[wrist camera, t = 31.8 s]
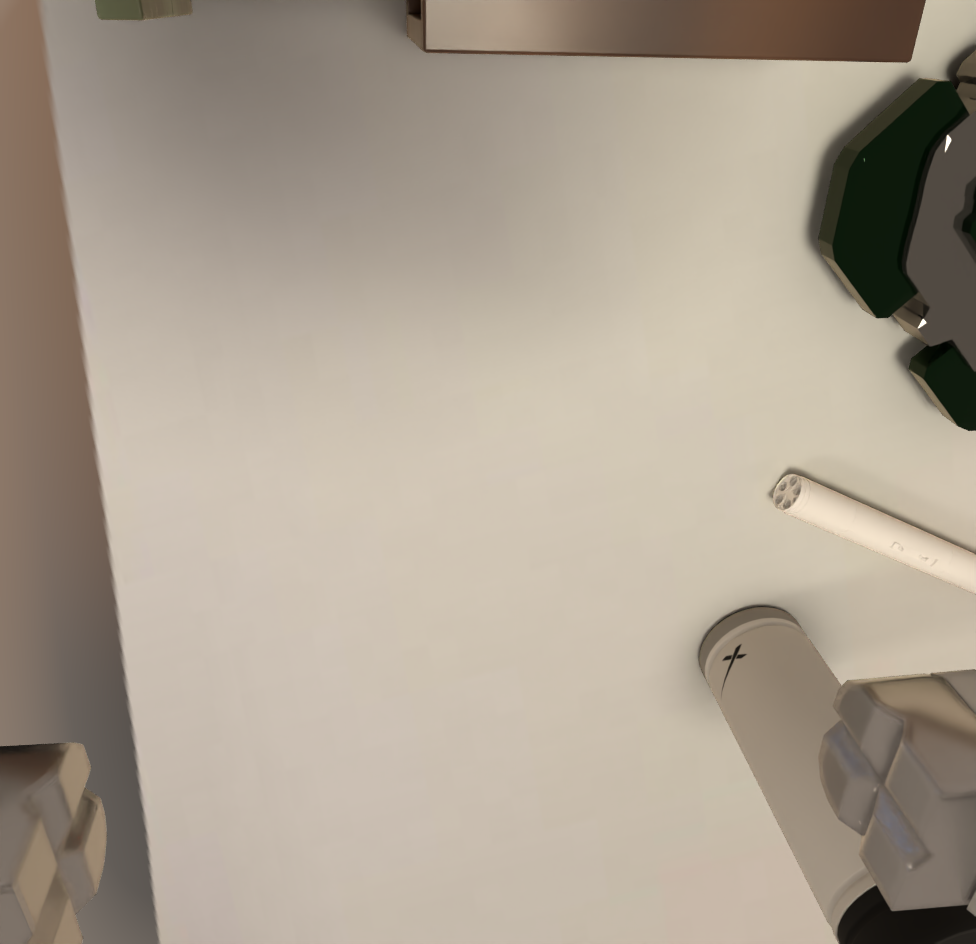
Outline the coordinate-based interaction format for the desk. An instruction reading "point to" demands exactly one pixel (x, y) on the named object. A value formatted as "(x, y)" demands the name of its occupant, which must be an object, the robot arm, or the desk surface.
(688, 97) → the desk surface
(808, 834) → the travel mug
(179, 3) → the drawer
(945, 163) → the flat green button pad
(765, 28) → the cabinet
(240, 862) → the desk surface
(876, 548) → the white rod
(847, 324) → the desk surface
